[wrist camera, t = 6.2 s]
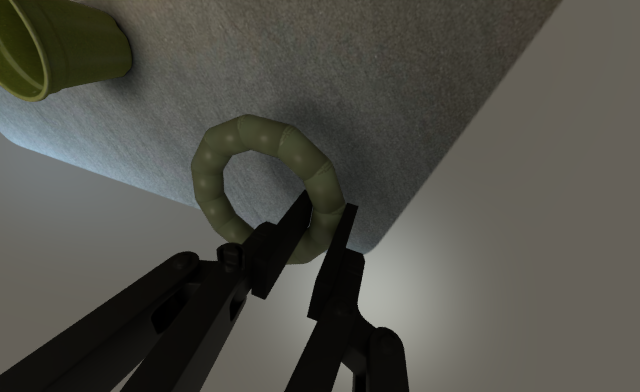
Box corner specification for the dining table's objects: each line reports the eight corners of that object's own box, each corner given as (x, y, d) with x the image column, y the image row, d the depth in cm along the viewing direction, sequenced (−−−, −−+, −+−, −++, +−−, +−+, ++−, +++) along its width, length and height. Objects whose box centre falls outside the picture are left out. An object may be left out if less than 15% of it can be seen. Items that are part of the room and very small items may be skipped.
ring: (365, 140, 13) (360, 151, 11) (328, 270, 19) (321, 289, 17) (198, 96, 15) (173, 100, 13) (212, 226, 21) (195, 240, 19)
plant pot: (88, 80, 29) (-18, 85, 21) (59, -21, 24) (-93, -59, 16) (152, 101, 27) (63, 115, 20) (136, 0, 22) (9, -31, 15)
